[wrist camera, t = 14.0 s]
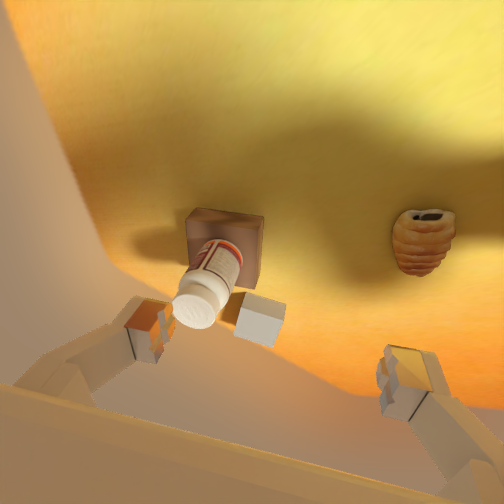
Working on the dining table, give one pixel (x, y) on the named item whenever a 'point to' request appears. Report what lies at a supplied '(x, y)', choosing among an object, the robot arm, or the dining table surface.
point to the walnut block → (228, 238)
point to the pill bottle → (207, 284)
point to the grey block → (260, 319)
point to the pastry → (422, 239)
